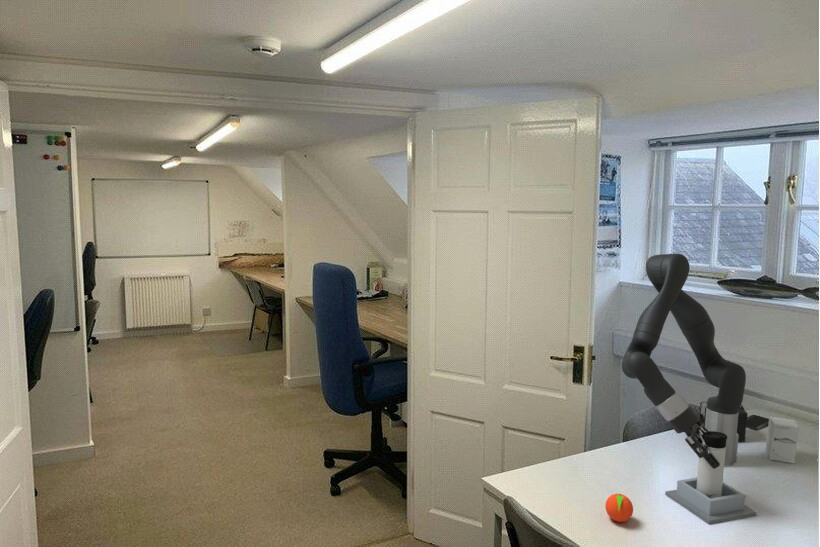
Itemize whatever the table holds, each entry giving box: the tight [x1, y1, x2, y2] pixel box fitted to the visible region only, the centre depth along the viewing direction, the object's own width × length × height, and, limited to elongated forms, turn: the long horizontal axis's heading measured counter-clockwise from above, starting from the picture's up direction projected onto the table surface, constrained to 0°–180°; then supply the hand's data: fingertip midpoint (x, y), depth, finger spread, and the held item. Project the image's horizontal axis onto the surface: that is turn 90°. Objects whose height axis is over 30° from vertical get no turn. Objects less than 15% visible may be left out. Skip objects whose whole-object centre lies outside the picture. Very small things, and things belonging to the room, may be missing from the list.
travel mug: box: [696, 431, 727, 498], centre depth 164 cm, size 6×7×20 cm
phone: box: [746, 414, 769, 431], centre depth 227 cm, size 8×1×15 cm
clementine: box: [605, 493, 634, 523], centre depth 156 cm, size 8×7×7 cm
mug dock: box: [664, 477, 757, 525], centre depth 165 cm, size 16×16×5 cm
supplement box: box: [765, 416, 800, 464], centre depth 196 cm, size 7×7×13 cm
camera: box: [698, 395, 749, 443], centre depth 214 cm, size 11×14×15 cm
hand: (718, 461), depth 163 cm, fingers open, 8 cm apart
